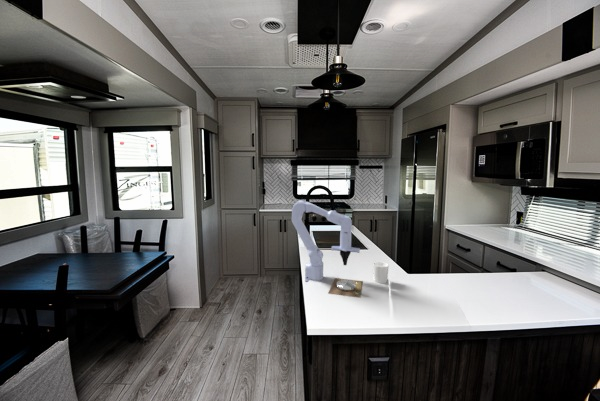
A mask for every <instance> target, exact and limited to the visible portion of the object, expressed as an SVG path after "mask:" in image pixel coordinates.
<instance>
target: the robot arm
mask: <svg viewBox="0 0 600 401" xmlns="http://www.w3.org/2000/svg"><path fill="white" fill-rule="evenodd" d="M311 212H312V213H314V214H317V215H320V216H323V217H325V218H326V220H327V221H328V222H331V223H333V224H335V225H338V226H340V230H339V232H340V234H339V245H332V246H331V247H330V248H331V251H335V252H336V251H338V252H339V255H340V257H341V259H342V262H343V266H347V263H348V259H349V257H350V256H351V253H356V254H360V253H361V248H360V247H353V246H352V227H353V226H352V225H353V223H352V219H351V217H350V216H348V215H345V214H344V213H343V214H341V213H339V212H337V210H335V209H334V210H326V209H324V208H321V207H320V206H317V205H316V204H313V203H311V202H309V201H305V200H302V199H300V200H297V202H295V203H294V204H293V206H292V208H291V222H292V225H293V226H294V228H295V231H296V232H297V234H298V235H299V238H300V240H301V241H302V244H303V245H304V246H305V248H306V250H307V254H308V257H309V262H307V263H306V264H305V270H304V272H305V275H304V276H305V277H304V282H309V281H310V280H312V281H322V280H323V279H324V262H323V257H324V253H323V251H322V250H321V249H319V247H318V246H317V245H316V243H315V242H314V240H313V238H312V237H311V234H310V233H309V231H308V229H307V227H306V225H305V224H304V223H305V222H304V221H303V220H302V219H303V216H304V213H307V214H308V213H311Z"/></svg>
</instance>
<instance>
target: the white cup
mask: <svg viewBox="0 0 600 401" xmlns="http://www.w3.org/2000/svg"><path fill="white" fill-rule="evenodd" d="M388 276H389V264H388V263H387V262H385V261H375V262H373V263H372V277H373V282H375V283H377V284H386V283H387V282H388Z"/></svg>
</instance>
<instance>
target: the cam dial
mask: <svg viewBox="0 0 600 401" xmlns="http://www.w3.org/2000/svg"><path fill="white" fill-rule="evenodd" d="M351 280H352V279H348V280H340V281H338V282H337V283H336V287H337V288H338V289H340V290H343V291H353V290H356V291H357V292H360V291H361V282H359V281H360V280H357V282H356V283H355V282H354V281H351ZM361 292H362V291H361Z"/></svg>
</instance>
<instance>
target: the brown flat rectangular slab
mask: <svg viewBox="0 0 600 401" xmlns="http://www.w3.org/2000/svg"><path fill="white" fill-rule="evenodd" d="M340 280H349V279H347V278H339V277H334V279H333V281H332V283H331V285H330V288H329V290H328V293H327V294H329V295H336V296H337V295H338V296H342V297H343V296H344V297H351V298H352V297H353V298H360V299H361V297H362V296H361V295H362V291H363V284H364V281H363V280H357V279H350V280H351V281H354V282H355V283H356V282H357V281H359V282H361V291H360V292H357V291H356V290H353V291H343V290H340V289H338V288H337V287H336V283H337V282H338V281H340Z"/></svg>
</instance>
